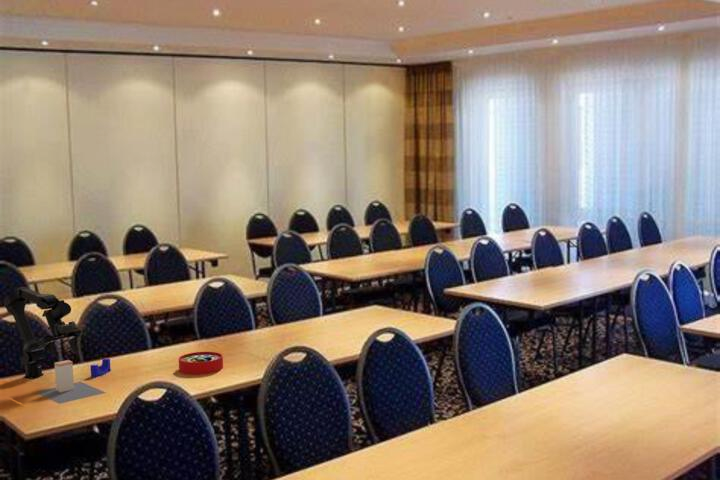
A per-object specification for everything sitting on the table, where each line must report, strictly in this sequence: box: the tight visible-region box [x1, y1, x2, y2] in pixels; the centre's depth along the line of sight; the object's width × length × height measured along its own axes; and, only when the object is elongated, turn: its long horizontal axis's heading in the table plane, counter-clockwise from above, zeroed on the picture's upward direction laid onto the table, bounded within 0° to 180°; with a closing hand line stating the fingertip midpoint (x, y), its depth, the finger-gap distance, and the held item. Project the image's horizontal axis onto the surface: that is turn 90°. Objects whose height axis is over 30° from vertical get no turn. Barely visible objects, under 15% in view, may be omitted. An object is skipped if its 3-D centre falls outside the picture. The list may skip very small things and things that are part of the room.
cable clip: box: [89, 358, 112, 378], centre depth 370 cm, size 12×4×6 cm, turn 168°
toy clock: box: [178, 351, 224, 376], centre depth 376 cm, size 20×6×20 cm
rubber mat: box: [35, 381, 107, 405], centre depth 341 cm, size 24×20×1 cm
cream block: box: [54, 359, 75, 392], centre depth 344 cm, size 4×6×12 cm, turn 134°
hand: (66, 355), depth 354 cm, fingers open, 9 cm apart
